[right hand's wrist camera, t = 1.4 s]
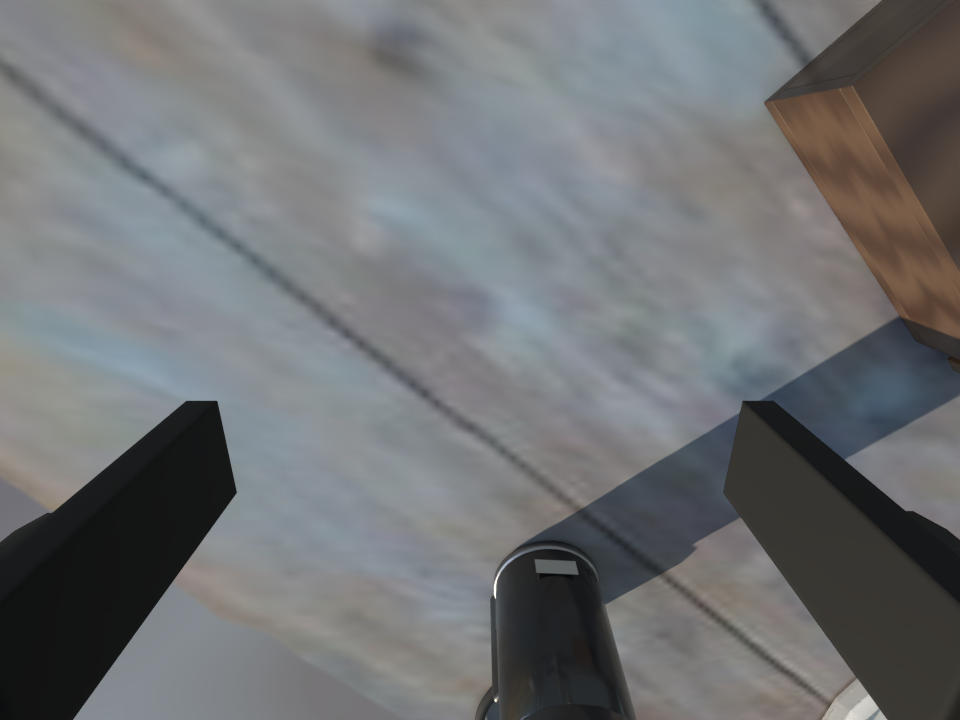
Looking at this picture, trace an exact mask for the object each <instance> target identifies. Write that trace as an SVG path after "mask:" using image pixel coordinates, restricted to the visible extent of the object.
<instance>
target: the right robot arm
mask: <svg viewBox="0 0 960 720" xmlns="http://www.w3.org/2000/svg"><path fill="white" fill-rule="evenodd" d="M236 493H237V491H236V486H235V482H234V477H233V472H232V468H231V463H230V458H229V454H228V449H227V444H226V440H225V435H224V430H223V426H222V421H221V416H220V411H219V407H218V402H217V401H186V402H185V403H183V404H182V405H181V406H180V407H179V408H177V409H176V410H175V411H174V412H173V413H171V414H170V415H169V416H168V417H167V418H165V419H164V420H163V421H162V422H161V423H160V424H158V425H157V426H156V427H155V428H154V429H152V430H151V431H150V432H149V433H148V434H146V435H145V436H144V437H143V438H142V439H140V440H139V441H138V442H137V443H136V444H134V445H133V446H132V447H131V448H130V449H128V450H127V451H126V452H125V453H124V454H122V455H121V456H120V457H119V458H118V459H116V460H115V461H114V462H113V463H112V464H110V465H109V466H108V467H107V468H106V469H104V470H103V471H102V472H101V473H100V474H98V475H97V476H96V477H95V478H94V479H92V480H91V481H90V482H89V483H88V484H86V485H85V486H84V487H83V488H82V489H80V490H79V491H78V492H77V493H76V494H74V495H73V496H72V497H71V498H70V499H68V500H67V501H66V502H65V503H64V504H62V505H61V506H60V507H59V508H58V509H56V510H55V511H54V512H53V513H46V514H45V515H43V516H41V517H39V518H37V519H35V520H34V521H32V522H30V523H28V524H26V525H25V526H23V527H21V528H19V529H17V530H15V531H14V532H13V533H11V534H10V535H9V536H8V537H6V538H5V539H4V540H3V541H1V542H0V720H73V719H74V717H75V716H76V715H77V713H78V712H79V711H80V709H81V708H82V706H83V705H84V703H85V702H86V701H87V699H88V698H89V697H90V695H91V694H92V693H93V691H94V690H95V688H96V687H97V686H98V684H99V683H100V681H101V680H102V679H103V677H104V676H105V674H106V673H107V672H108V670H109V669H110V668H111V666H112V665H113V663H114V662H115V661H116V659H117V658H118V656H119V655H120V654H121V652H122V651H123V650H124V648H125V647H126V645H127V644H128V643H129V641H130V640H131V639H132V637H133V636H134V634H135V633H136V632H137V630H138V629H139V627H140V626H141V625H142V623H143V622H144V620H145V619H146V618H147V616H148V615H149V614H150V612H151V611H152V609H153V608H154V607H155V605H156V604H157V603H158V601H159V600H160V598H161V597H162V596H163V594H164V593H165V591H166V590H167V589H168V587H169V586H170V585H171V583H172V582H173V580H174V579H175V578H176V576H177V575H178V573H179V572H180V571H181V569H182V568H183V567H184V565H185V564H186V562H187V561H188V560H189V558H190V557H191V555H192V554H193V553H194V551H195V550H196V549H197V547H198V546H199V544H200V543H201V542H202V540H203V539H204V537H205V536H206V535H207V533H208V532H209V531H210V529H211V528H212V526H213V525H214V524H215V522H216V521H217V519H218V518H219V517H220V515H221V514H222V513H223V511H224V510H225V508H226V507H227V506H228V504H229V503H230V501H231V500H232V499H233V497H234V496H235V495H236ZM723 493H724V495H725V496H726V497H727V499H728V500H729V501H730V503H731V504H732V506H733V507H734V508H735V510H736V511H737V513H738V514H739V515H740V517H741V518H742V519H743V521H744V522H745V524H746V525H747V526H748V528H749V529H750V531H751V532H752V533H753V535H754V536H755V537H756V539H757V540H758V542H759V543H760V544H761V546H762V547H763V549H764V550H765V551H766V553H767V554H768V555H769V557H770V558H771V560H772V561H773V562H774V564H775V565H776V567H777V568H778V569H779V571H780V572H781V573H782V575H783V576H784V578H785V579H786V580H787V582H788V583H789V585H790V586H791V587H792V589H793V590H794V591H795V593H796V594H797V596H798V597H799V598H800V600H801V601H802V603H803V604H804V605H805V607H806V608H807V609H808V611H809V612H810V614H811V615H812V616H813V618H814V619H815V621H816V622H817V623H818V625H819V626H820V627H821V629H822V630H823V632H824V633H825V634H826V636H827V637H828V639H829V640H830V641H831V643H832V644H833V645H834V647H835V648H836V650H837V651H838V652H839V654H840V655H841V657H842V658H843V659H844V661H845V662H846V663H847V665H848V666H849V668H850V669H851V670H852V672H853V673H854V675H855V676H856V677H857V679H858V680H859V681H860V683H861V684H862V686H863V687H864V688H865V690H866V691H867V693H868V694H869V695H870V697H871V698H872V699H873V701H874V702H875V704H876V705H877V706H878V708H879V709H880V711H881V712H882V713H883V715H884V716H885V717H886V719H887V720H960V540H959V539H958V538H957V537H956V536H954V535H953V534H952V533H951V532H949V531H948V530H947V529H945V528H943V527H941V526H939V525H938V524H936V523H934V522H932V521H930V520H928V519H927V518H925V517H923V516H921V515H919V514H917V513H916V512H914V511H905V510H904V509H902V508H901V507H900V506H899V505H898V504H896V503H895V502H894V501H893V500H892V499H890V498H889V497H888V496H887V495H886V494H884V493H883V492H882V491H881V490H880V489H878V488H877V487H876V486H875V485H874V484H872V483H871V482H870V481H869V480H868V479H866V478H865V477H864V476H863V475H862V474H860V473H859V472H858V471H857V470H856V469H854V468H853V467H852V466H851V465H850V464H848V463H847V462H846V461H845V460H844V459H842V458H841V457H840V456H839V455H838V454H836V453H835V452H834V451H833V450H832V449H830V448H829V447H828V446H827V445H826V444H824V443H823V442H822V441H821V440H820V439H818V438H817V437H816V436H815V435H814V434H812V433H811V432H810V431H809V430H808V429H806V428H805V427H804V426H803V425H802V424H800V423H799V422H798V421H797V420H796V419H795V418H793V417H792V416H791V415H790V414H789V413H787V412H786V411H785V410H784V409H783V408H781V407H780V406H779V405H778V404H777V403H775V402H774V401H743V402H742V407H741V411H740V416H739V421H738V426H737V430H736V435H735V440H734V444H733V449H732V454H731V458H730V463H729V468H728V472H727V477H726V482H725V486H724V491H723Z"/></svg>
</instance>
